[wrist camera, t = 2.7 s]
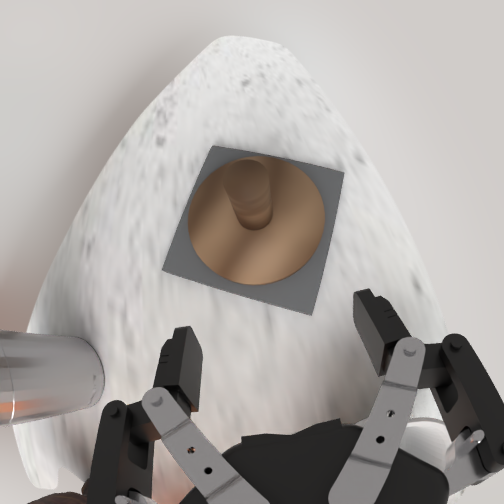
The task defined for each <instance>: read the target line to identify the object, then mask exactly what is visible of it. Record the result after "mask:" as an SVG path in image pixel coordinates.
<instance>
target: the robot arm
mask: <svg viewBox="0 0 504 504" xmlns="http://www.w3.org/2000/svg"><path fill="white" fill-rule="evenodd" d="M353 318H354V323H355V326H356V328H357V331H358V333H359V335H360V337H361V339H362V341H363V343H364V346H365V348H366V350H367V352H368V354H369V357H370V359H371V361H372V363H373V366H374V368H375V370H376V372H377V375H378V377H379V376H382V375H386V376H385V379H384V382H383V383H382V385H381V387H380V390H379V393H378V395H377V398H376V400H375V403H374V405H373V408H372V410H371V412H370V415H369V417H368V419H367V422H366V424H365V426H364V427H361V426H358V425H353V424H341V421H340V418H339V419H335V420H331V421H327V422H323V423H319V424H315V425H313V426H311V427H308V428H306V429H304V430H302V431H300V432H297V433H295V434H292V435H280V434H259V435H251V436H242V437H241V440H242V443H239V444H237V445H235V446H233V447H231V448H229V449H228V450H226V451H225V452H224V453H223V454H221V453H220V452H219V451H218V450H217V449H216V448H215V447H214V446H213V445H212V444H211V443H210V441H209V440H208V439H207V438H206V437H205V436H204V435H203V433H202V432H201V431H200V430H199V429H198V428H197V426H196V425H195V424H194V423H193V422H192V420H191V419H190V416H191V412H198V411H199V397H200V384H201V372H202V361H203V354H202V349H201V346H200V344H199V342H198V340H197V338H196V336H195V334H194V332H193V330H192V328H191V327H190V326H186V327H179V328H175V330H174V333H173V338H172V339H167V341H166V342H165V344H164V345H163V347H162V349H161V353H160V358H159V364H158V367H157V371H156V376H155V380H154V385H153V388H152V389H150V390H149V391H147V392H146V393H145V395H144V396H143V399H142V400H141V401H139V402H136V403H132V404H129V405H126V404H125V403H124V402H122V401H119V400H114V401H111V402H110V403H108V404H107V405H106V406H105V407H104V409H103V411H102V415H101V420H100V424H99V429H98V434H97V439H96V444H95V449H94V454H93V460H92V466H91V472H90V479H89V486H88V494H87V503H86V504H157V503H156V502H155V501H154V500H153V499H151V496H152V472H153V456H154V442H155V440H159V439H161V440H162V442H163V443H164V445H165V446H166V448H167V449H168V451H169V452H170V453H171V455H172V456H173V458H174V459H175V460H176V462H177V463H178V464H179V466H180V467H181V468H182V470H183V471H184V472H185V474H186V475H187V476H188V477H189V479H190V480H191V481H192V482H193V484H194V485H195V486H194V488H193V489H192V490H191V491H190V492H189V493H188V494H187V495H186V497H185V498H184V499H183V500H182V501H181V502H180V503H179V504H447V501H448V497H449V496H450V495H452V494H454V493H456V492H458V491H460V490H462V489H464V488H466V487H468V486H469V485H477V484H479V483H481V482H482V481H484V480H486V479H488V478H489V477H491V476H492V475H494V474H496V473H497V472H499V471H500V470H502V469H503V468H504V403H503V401H502V399H501V397H500V395H499V393H498V391H497V390H496V388H495V386H494V384H493V382H492V380H491V379H490V377H489V375H488V373H487V372H486V370H485V368H484V366H483V365H482V363H481V361H480V359H479V358H478V356H477V355H476V353H475V351H474V350H473V348H472V346H471V345H470V343H469V342H468V341H467V339H466V338H465V337H464V336H462V335H460V334H449V335H447V336H446V337H445V338H444V339H443V341H442V343H436V344H423V342H422V341H421V340H419V339H417V338H414V337H412V336H411V335H410V333H409V332H408V330H407V329H406V327H405V325H404V324H403V322H402V321H401V319H400V318H399V316H397V313H396V311H395V310H394V309H393V307H392V305H391V304H390V302H389V301H388V300H386V299H385V298H383V297H382V296H378V297H375V296H374V295H373V293H372V292H371V290H370V289H369V288H368V289H364V290H360V291H356V292H354V295H353ZM423 388H430V390H431V392H432V394H433V397H434V399H435V401H436V404H437V406H438V409H439V411H440V413H441V416H442V418H443V421H444V424H445V426H446V429H447V431H448V434H449V437H450V440H451V442H452V443H451V444H450V445H449V446H448V448H447V450H446V454H445V459H446V466H445V469H444V471H443V472H442V471H441V470H440V469H438V468H437V467H435V466H433V465H431V464H429V463H427V462H425V461H423V460H421V459H419V458H417V457H416V456H414V455H412V454H410V453H408V452H406V451H405V450H403V449H401V448H399V446H400V443H401V440H402V438H403V435H404V432H405V429H406V426H407V423H408V420H409V417H410V414H411V411H412V408H413V404H414V401H415V397H416V394H417V389H423ZM103 389H104V373H103V369H102V365H101V362H100V360H99V358H98V356H97V354H96V352H95V351H94V349H93V348H92V347H91V346H90V345H89V344H88V343H87V342H86V341H84V340H82V339H81V338H77V337H68V336H55V335H43V334H33V333H23V332H14V331H6V330H0V427H5V426H10V425H16V424H21V423H26V422H31V421H36V420H40V419H45V418H49V417H53V416H58V415H62V414H66V413H69V412H73V411H77V410H81V409H84V408H88V407H91V406H93V405H95V404H96V403H97V402H98V401H99V399H100V398H101V396H102V393H103Z"/></svg>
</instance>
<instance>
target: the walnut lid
mask: <svg viewBox="0 0 504 504" xmlns="http://www.w3.org/2000/svg"><path fill="white" fill-rule="evenodd" d="M324 224H325V211H324V204H323V201H322V197H321V195H320V193H319V191H318V189H317V187H316V186H315V184H314V183H313V181H312V180H311V179H310V178H309V177H308V176H307V175H306V174H305V173H304V172H303V171H302V170H300V169H299V168H297V167H296V166H294V165H292V164H291V163H289V162H286V161H283V160H281V159H277V158H273V157H266V156H253V157H245V158H240V159H237V160H234V161H231V162H229V163H227V164H225V165H223V166H221V167H220V168H218V169H217V170H215V171H214V172H213V173H211V174H210V175H209V176H208V177H207V178H206V179H205V180H204V181H203V182H202V184H201V185H200V186H199V188H198V189H197V191H196V193H195V195H194V197H193V199H192V202H191V205H190V208H189V213H188V232H189V236H190V240H191V243H192V245H193V248H194V250H195V251H196V253H197V255H198V256H199V257H200V259H201V260H202V261H203V262H204V263H205V264H206V265H207V266H208V267H209V268H210V269H211V270H212V271H214V272H215V273H216V274H218V275H219V276H221V277H223V278H225V279H227V280H230V281H232V282H235V283H239V284H244V285H266V284H271V283H275V282H278V281H281V280H283V279H285V278H287V277H290V276H291V275H293V274H294V273H296V272H297V271H299V270H300V269H301V268H302V267H303V266H304V265H305V264H306V263H307V262H308V261H309V260H310V259H311V257H312V256H313V254H314V253H315V251H316V249H317V247H318V245H319V243H320V240H321V237H322V234H323V231H324Z"/></svg>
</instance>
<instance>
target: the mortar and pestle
mask: <svg viewBox="0 0 504 504" xmlns="http://www.w3.org/2000/svg"><path fill="white" fill-rule="evenodd" d="M88 486H89V479H88V480H87V481H86V482H85V483H84V485H83V487H82V495H80V494H78V493H74V492H66V493H54V494H51V495H48V496H45V497H42V498H40V499H38V500H35V501H32V502H30V503H28V504H86V503H87V494H88Z"/></svg>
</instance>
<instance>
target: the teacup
mask: <svg viewBox="0 0 504 504" xmlns="http://www.w3.org/2000/svg"><path fill="white" fill-rule="evenodd" d="M367 419H368V418H366V419H363V420H361V421H359V422H357V423H356V424H354V425H358V426H361V427H364V426H365V424H366V422H367ZM451 443H452V442H451V440H450V437H449V434H448V431H447V429H446V426H445V424H444V421H441V420H438V419H434V418H412V419H409V420H408V423H407V426H406V429H405V432H404V435H403V438H402V440H401V443H400V446H399V448H401V449H403V450H405V451H406V452H408V453H410V454H412V455H414V456H416V457H417V458H419V459H421V460H423V461H425V462H427V463H429V464H431V465H433V466H435V467H437V468H438V469H440V470H441V471H442V472H443V471H444V469H445V466H446V459H445V454H446V450H447V448H448V446H449V445H450V444H451Z"/></svg>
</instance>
